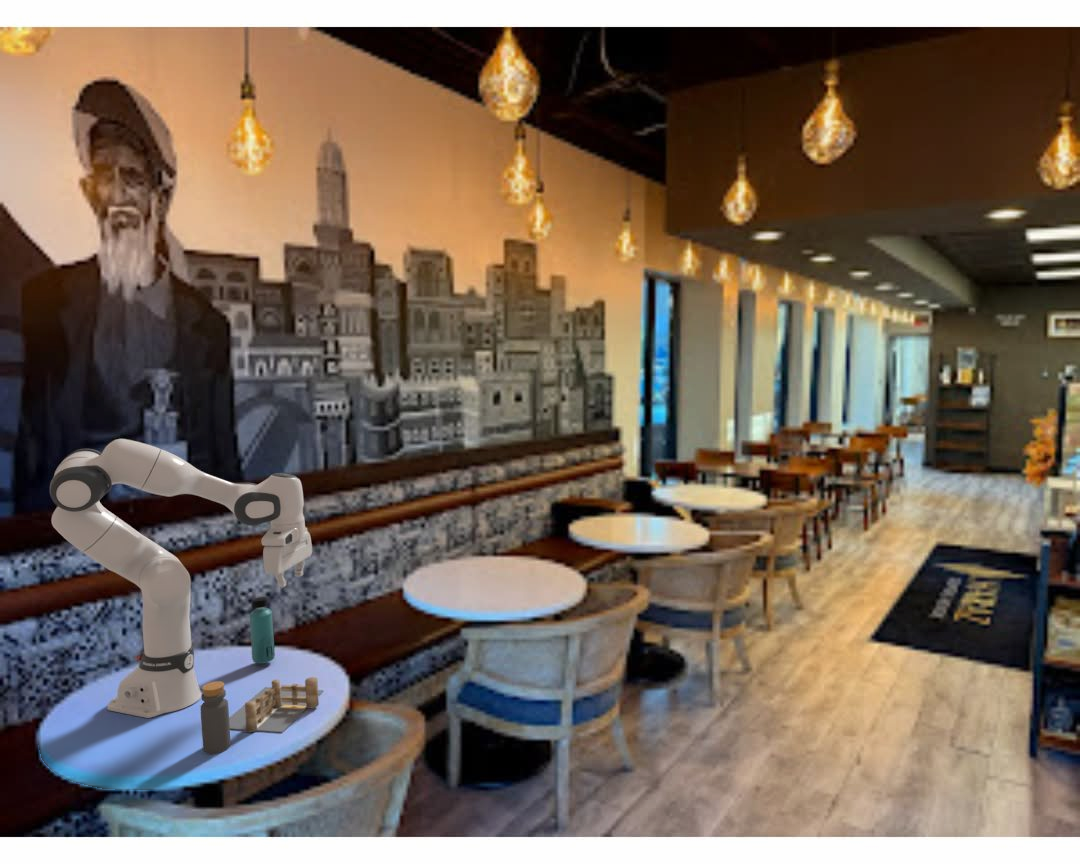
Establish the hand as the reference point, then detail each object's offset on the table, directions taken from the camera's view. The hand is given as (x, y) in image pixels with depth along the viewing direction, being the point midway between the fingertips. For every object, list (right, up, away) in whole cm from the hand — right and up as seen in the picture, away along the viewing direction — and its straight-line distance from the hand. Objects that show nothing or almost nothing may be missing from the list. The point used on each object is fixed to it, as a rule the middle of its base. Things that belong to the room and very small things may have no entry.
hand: (290, 581), depth 196 cm
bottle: (-7, -33, -30) cm, 45 cm away
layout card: (0, -30, -12) cm, 33 cm away
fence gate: (+7, -29, -12) cm, 32 cm away
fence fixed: (-1, -31, -17) cm, 35 cm away
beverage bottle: (-14, -28, +16) cm, 35 cm away
